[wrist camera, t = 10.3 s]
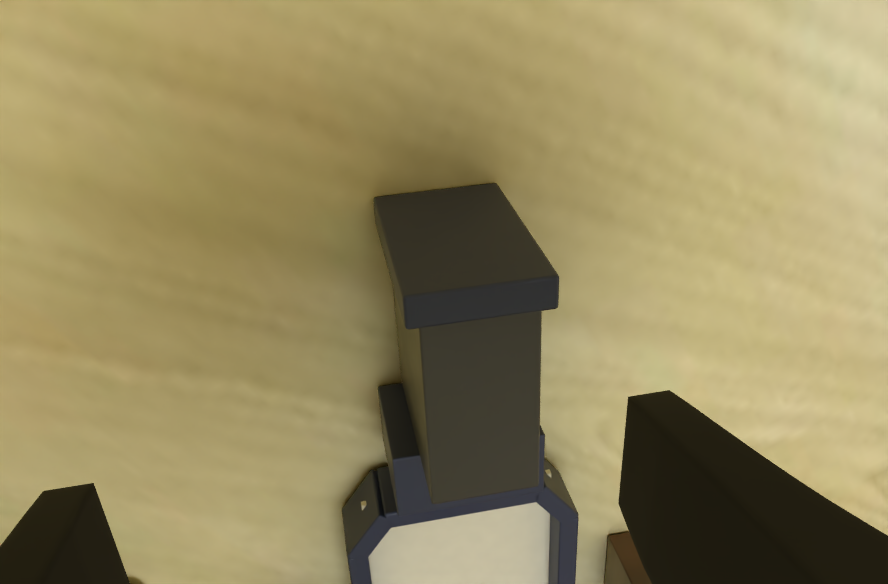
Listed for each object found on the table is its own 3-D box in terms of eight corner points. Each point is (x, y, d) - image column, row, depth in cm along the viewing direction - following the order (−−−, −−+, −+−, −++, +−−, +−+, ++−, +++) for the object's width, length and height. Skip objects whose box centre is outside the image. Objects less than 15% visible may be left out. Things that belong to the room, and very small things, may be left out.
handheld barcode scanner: (295, 205, 20) (304, 310, 15) (568, 173, 21) (649, 263, 16) (362, 645, 28) (380, 796, 24) (554, 607, 29) (606, 746, 25)
